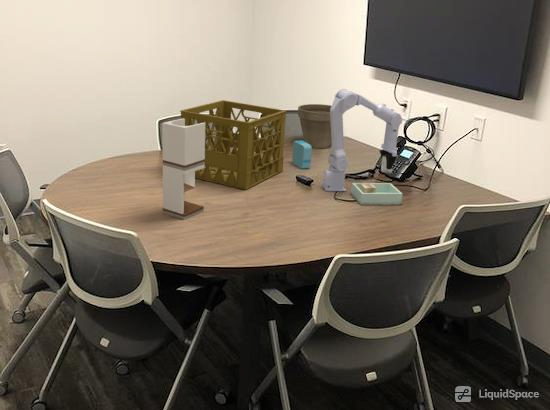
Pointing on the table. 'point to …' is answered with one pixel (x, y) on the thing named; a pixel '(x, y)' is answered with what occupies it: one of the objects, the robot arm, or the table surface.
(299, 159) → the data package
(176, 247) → the table surface
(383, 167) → the metal cylinder
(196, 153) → the notched white pedestal
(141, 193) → the table surface
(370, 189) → the maple block
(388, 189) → the tote
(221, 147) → the milk crate
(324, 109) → the plant pot
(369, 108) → the robot arm
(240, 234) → the table surface
